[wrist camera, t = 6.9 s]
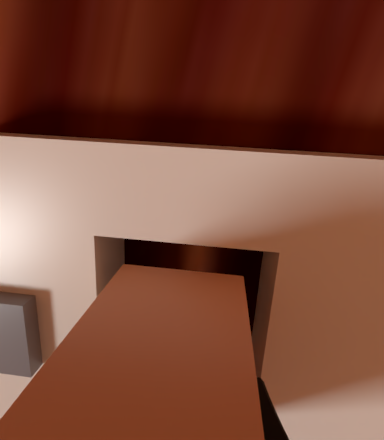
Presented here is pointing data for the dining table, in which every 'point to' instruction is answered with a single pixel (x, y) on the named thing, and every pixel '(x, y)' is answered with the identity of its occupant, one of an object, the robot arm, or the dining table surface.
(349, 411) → the socket plate
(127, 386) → the plug
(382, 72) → the dining table surface
